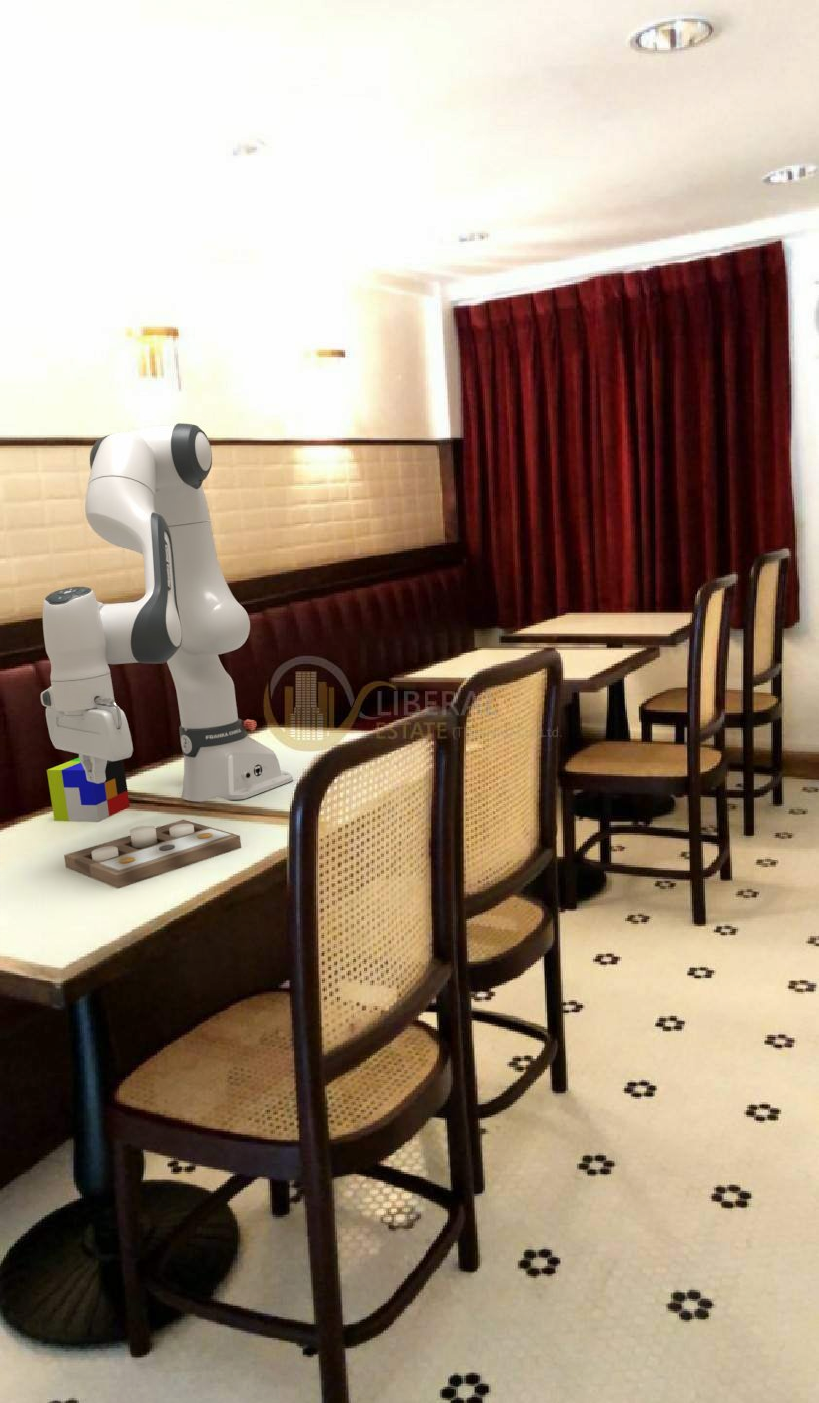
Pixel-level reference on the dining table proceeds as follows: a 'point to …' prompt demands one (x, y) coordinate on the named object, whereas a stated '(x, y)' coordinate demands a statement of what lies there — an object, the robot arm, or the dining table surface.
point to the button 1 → (104, 853)
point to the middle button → (143, 836)
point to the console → (153, 855)
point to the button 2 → (181, 830)
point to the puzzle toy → (87, 792)
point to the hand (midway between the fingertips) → (96, 781)
